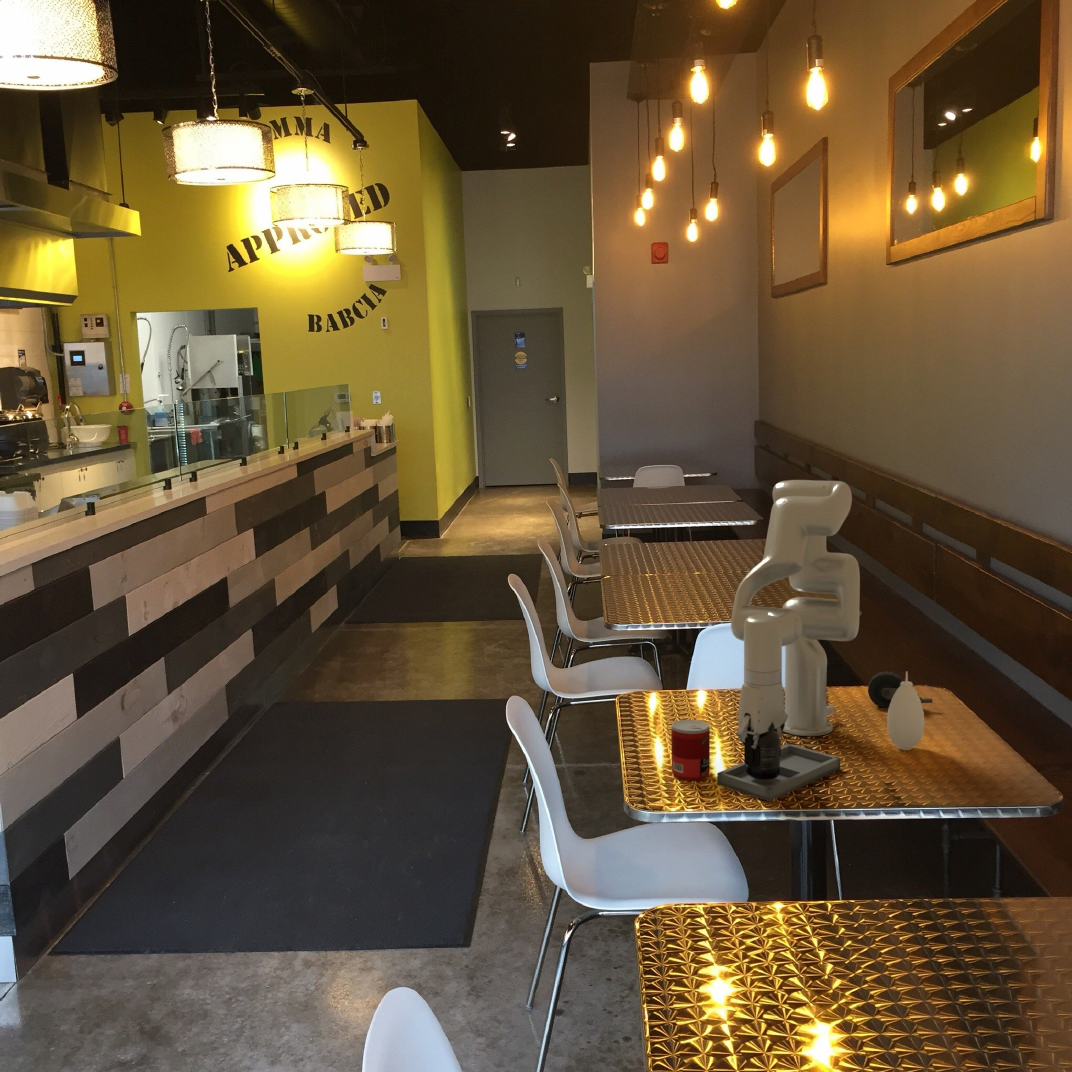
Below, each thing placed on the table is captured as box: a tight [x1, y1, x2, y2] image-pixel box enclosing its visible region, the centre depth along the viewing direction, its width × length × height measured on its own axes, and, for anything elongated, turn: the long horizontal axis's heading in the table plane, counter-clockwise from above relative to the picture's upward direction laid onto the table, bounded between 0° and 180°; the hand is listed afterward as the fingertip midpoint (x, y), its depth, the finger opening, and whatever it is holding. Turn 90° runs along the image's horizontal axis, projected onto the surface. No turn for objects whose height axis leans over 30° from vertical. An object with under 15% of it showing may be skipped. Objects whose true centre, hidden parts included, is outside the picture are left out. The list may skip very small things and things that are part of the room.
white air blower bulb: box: [886, 670, 925, 751], centre depth 235 cm, size 8×8×18 cm
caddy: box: [716, 743, 841, 802], centre depth 222 cm, size 25×13×2 cm, turn 132°
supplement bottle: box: [746, 722, 781, 780], centre depth 217 cm, size 7×7×12 cm
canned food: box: [670, 719, 711, 782], centre depth 224 cm, size 8×8×11 cm
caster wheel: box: [867, 670, 933, 709], centre depth 265 cm, size 6×10×15 cm
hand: (762, 759), depth 218 cm, fingers closed on supplement bottle, 6 cm apart
